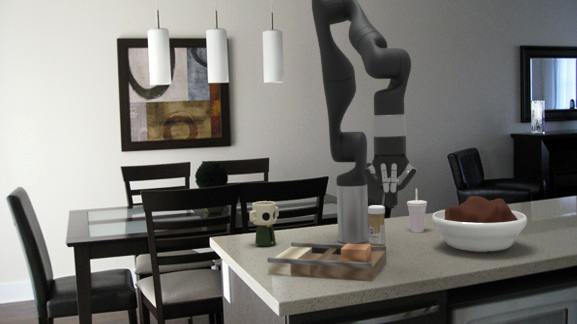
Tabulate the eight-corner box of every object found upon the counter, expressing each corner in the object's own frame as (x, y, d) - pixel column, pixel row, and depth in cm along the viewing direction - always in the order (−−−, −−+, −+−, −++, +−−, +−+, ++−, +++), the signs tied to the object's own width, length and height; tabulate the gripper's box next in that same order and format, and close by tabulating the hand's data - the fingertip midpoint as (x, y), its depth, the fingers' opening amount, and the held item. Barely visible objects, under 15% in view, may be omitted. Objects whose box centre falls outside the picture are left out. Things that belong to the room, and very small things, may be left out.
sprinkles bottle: (365, 255, 158) (364, 206, 156) (374, 251, 161) (373, 204, 160) (380, 257, 155) (379, 207, 154) (389, 253, 158) (387, 205, 157)
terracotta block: (371, 258, 142) (370, 244, 142) (365, 264, 137) (365, 250, 136) (347, 257, 144) (347, 243, 144) (341, 263, 139) (340, 248, 138)
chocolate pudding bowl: (414, 245, 167) (413, 193, 166) (484, 235, 176) (484, 186, 175) (471, 264, 144) (470, 205, 143) (548, 252, 153) (548, 196, 152)
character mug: (258, 250, 168) (256, 206, 167) (244, 246, 174) (242, 204, 173) (286, 243, 175) (285, 201, 174) (272, 240, 181) (270, 199, 180)
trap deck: (386, 261, 150) (386, 246, 150) (371, 281, 133) (371, 264, 133) (292, 256, 159) (292, 242, 159) (268, 274, 143) (267, 258, 142)
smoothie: (405, 233, 184) (404, 189, 183) (409, 229, 190) (408, 186, 189) (426, 233, 182) (425, 189, 181) (429, 229, 188) (428, 187, 187)
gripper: (420, 133, 136) (421, 205, 137) (365, 134, 141) (367, 204, 142) (415, 134, 129) (417, 211, 130) (358, 135, 134) (360, 209, 135)
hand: (391, 207), depth 136 cm, fingers closed
